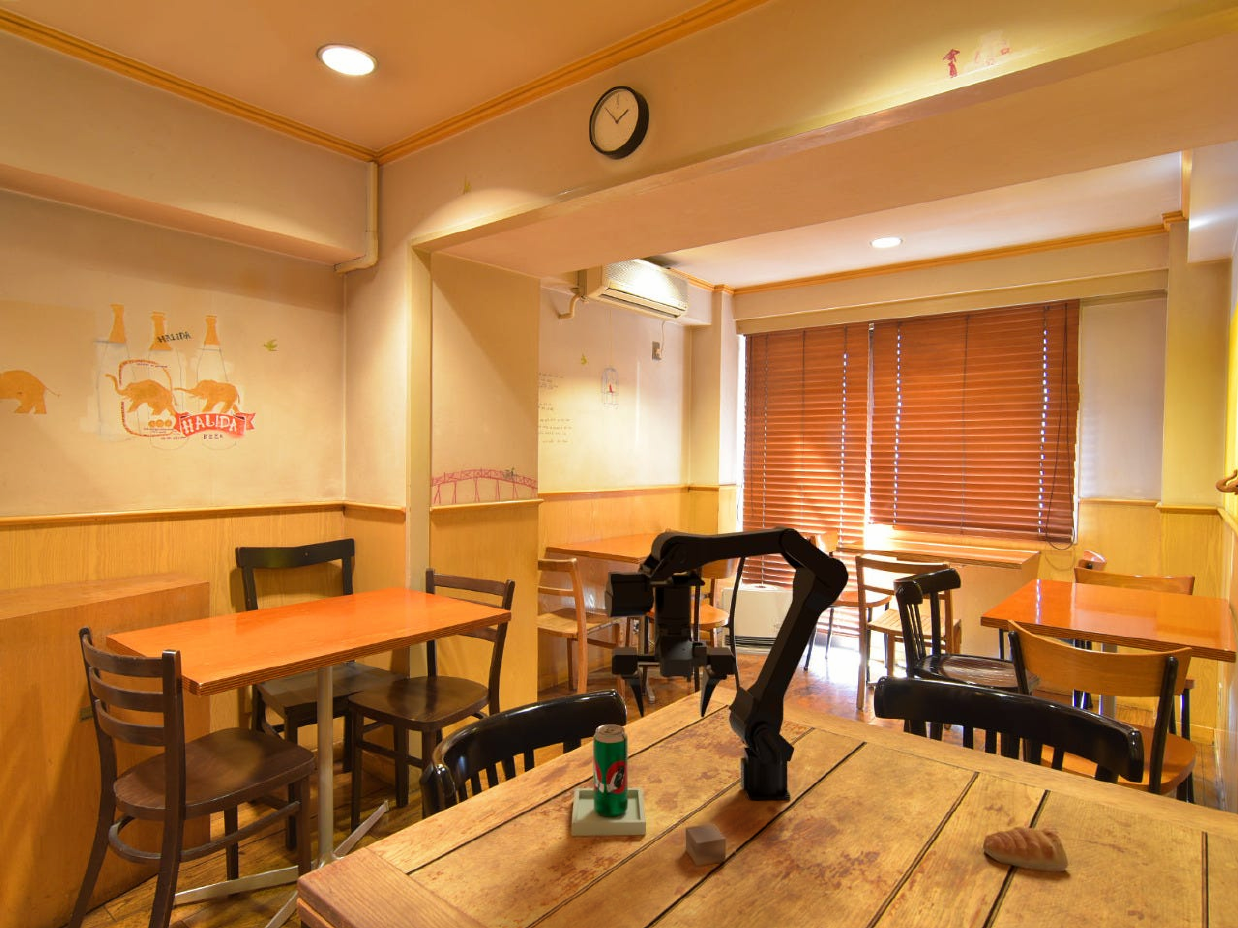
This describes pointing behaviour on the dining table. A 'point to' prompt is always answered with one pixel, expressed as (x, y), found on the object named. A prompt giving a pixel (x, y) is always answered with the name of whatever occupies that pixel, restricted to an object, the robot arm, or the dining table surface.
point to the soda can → (610, 770)
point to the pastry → (1027, 849)
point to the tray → (596, 825)
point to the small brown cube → (705, 844)
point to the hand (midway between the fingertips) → (672, 716)
